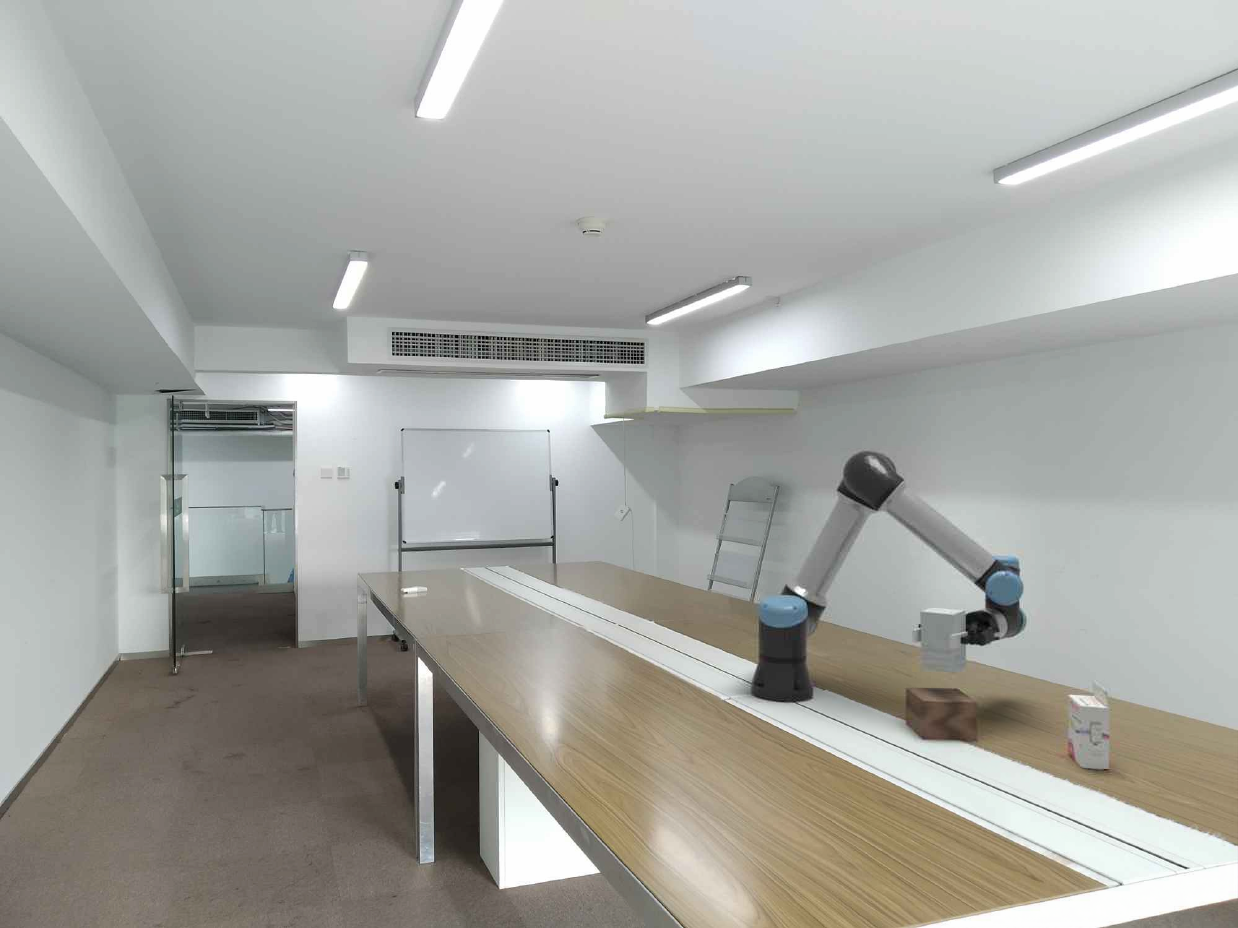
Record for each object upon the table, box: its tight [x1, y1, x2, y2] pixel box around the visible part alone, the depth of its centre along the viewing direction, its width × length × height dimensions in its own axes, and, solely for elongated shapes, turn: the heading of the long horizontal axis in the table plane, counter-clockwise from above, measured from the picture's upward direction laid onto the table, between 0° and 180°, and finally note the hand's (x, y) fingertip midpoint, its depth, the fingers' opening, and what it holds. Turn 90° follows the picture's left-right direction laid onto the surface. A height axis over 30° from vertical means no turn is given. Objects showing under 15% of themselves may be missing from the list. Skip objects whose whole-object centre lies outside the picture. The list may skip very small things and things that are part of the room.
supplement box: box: [919, 606, 967, 674], centre depth 183 cm, size 7×7×13 cm
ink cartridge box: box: [1067, 680, 1110, 770], centre depth 161 cm, size 9×5×15 cm, turn 168°
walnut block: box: [905, 687, 978, 741], centre depth 179 cm, size 11×11×8 cm
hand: (932, 638), depth 180 cm, fingers closed on supplement box, 8 cm apart
